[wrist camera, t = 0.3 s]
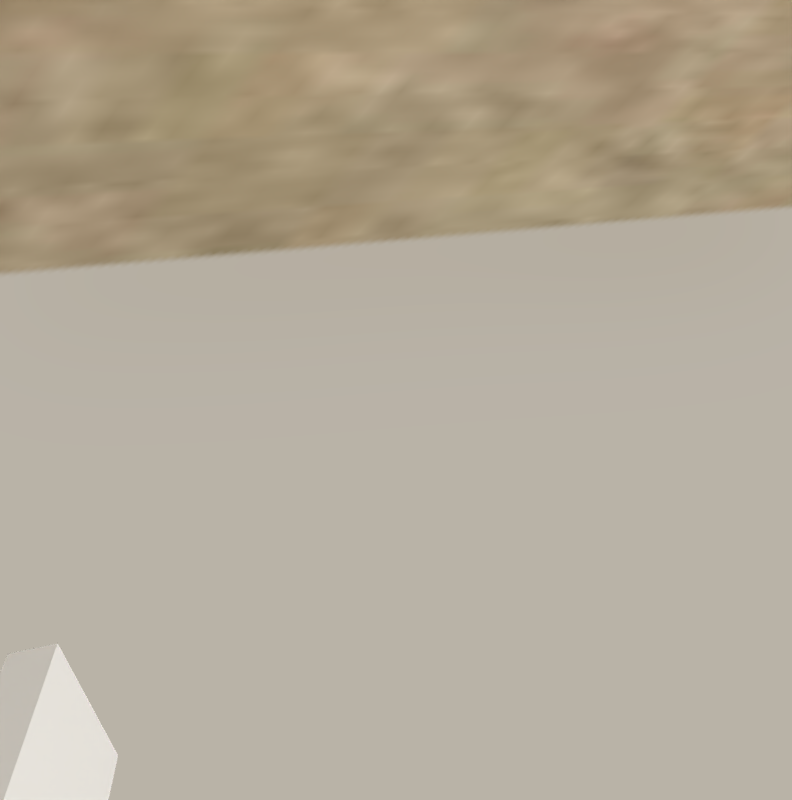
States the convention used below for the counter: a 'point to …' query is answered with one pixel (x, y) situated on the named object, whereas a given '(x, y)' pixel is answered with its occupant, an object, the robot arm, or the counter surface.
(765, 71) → the counter surface
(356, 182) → the counter surface
